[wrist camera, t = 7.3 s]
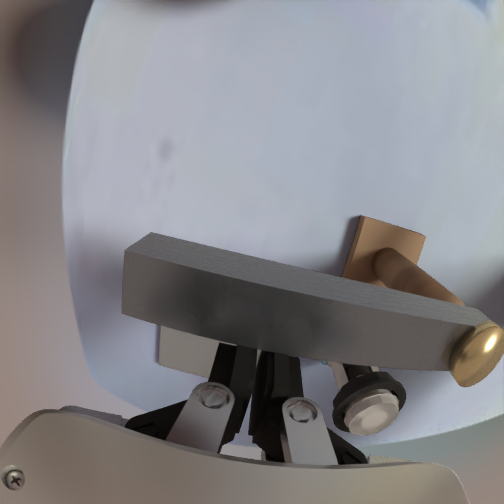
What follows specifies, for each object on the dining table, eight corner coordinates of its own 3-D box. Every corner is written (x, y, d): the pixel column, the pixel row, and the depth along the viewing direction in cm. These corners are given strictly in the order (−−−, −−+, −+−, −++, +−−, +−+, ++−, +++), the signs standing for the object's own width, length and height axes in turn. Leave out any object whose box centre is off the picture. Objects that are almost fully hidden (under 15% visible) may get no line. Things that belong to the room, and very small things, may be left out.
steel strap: (456, 352, 12) (483, 385, 9) (144, 294, 12) (112, 334, 9) (481, 302, 11) (515, 331, 8) (152, 222, 11) (114, 245, 8)
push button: (388, 313, 24) (437, 384, 14) (374, 359, 25) (409, 433, 16) (319, 314, 24) (346, 397, 14) (311, 361, 25) (327, 446, 16)
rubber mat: (309, 301, 23) (310, 305, 23) (278, 386, 26) (278, 390, 26) (167, 271, 23) (165, 273, 22) (160, 361, 26) (158, 364, 25)
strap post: (420, 233, 21) (499, 279, 11) (397, 296, 23) (456, 366, 13) (360, 215, 21) (430, 257, 11) (338, 285, 23) (383, 364, 13)
